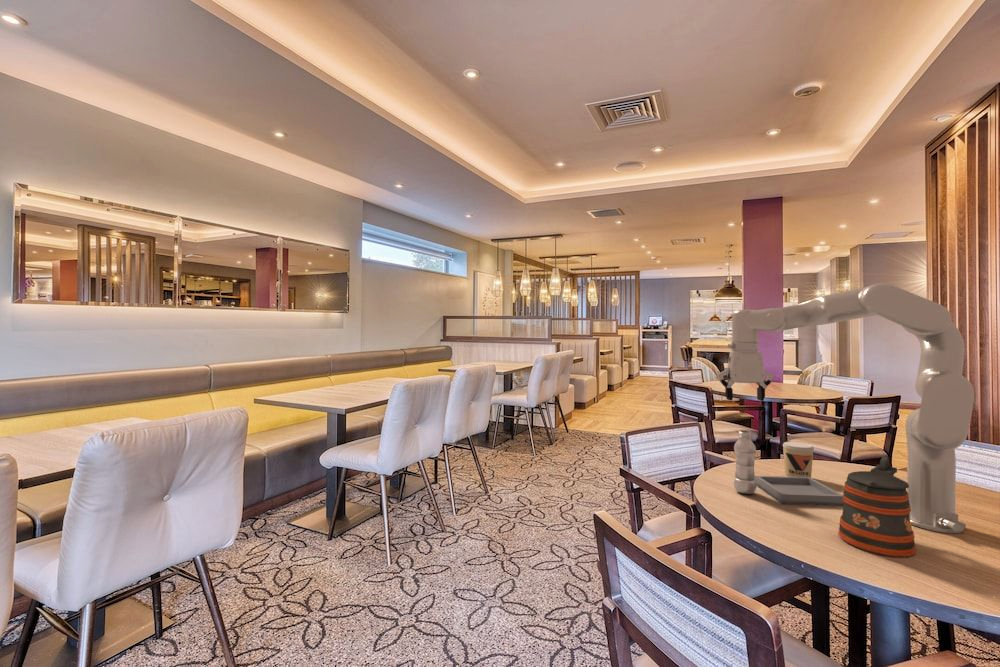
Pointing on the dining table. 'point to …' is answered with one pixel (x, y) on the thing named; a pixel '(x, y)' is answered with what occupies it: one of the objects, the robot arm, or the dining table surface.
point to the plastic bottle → (744, 463)
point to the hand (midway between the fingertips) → (744, 400)
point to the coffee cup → (798, 459)
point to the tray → (799, 491)
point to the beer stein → (877, 512)
